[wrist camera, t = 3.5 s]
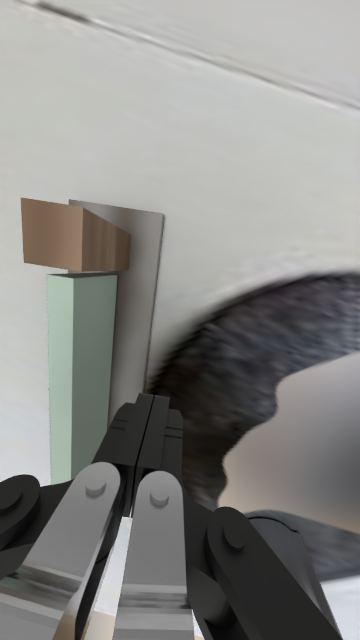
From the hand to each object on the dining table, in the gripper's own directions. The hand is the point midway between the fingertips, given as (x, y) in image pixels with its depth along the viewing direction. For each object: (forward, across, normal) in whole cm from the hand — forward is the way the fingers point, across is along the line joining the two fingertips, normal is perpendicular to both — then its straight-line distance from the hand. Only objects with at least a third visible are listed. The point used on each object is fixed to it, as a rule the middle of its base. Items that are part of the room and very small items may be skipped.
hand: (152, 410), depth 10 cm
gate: (+9, +6, +4) cm, 12 cm away
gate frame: (+11, +6, +4) cm, 13 cm away
